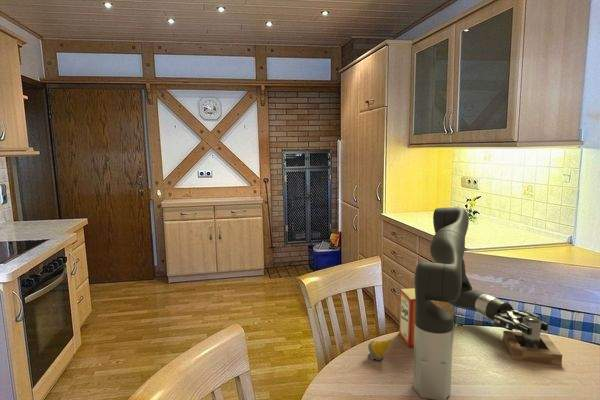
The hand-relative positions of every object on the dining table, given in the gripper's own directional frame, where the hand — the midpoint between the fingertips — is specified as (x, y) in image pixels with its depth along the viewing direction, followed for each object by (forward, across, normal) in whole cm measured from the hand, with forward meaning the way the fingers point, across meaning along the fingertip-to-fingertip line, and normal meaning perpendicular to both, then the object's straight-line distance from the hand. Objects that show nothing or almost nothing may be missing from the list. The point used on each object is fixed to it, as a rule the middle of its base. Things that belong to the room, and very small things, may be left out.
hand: (539, 329), depth 115 cm
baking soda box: (-22, -28, +8) cm, 36 cm away
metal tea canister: (-3, 0, +8) cm, 8 cm away
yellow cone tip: (-16, -44, +8) cm, 48 cm away
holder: (-2, 0, +8) cm, 8 cm away
